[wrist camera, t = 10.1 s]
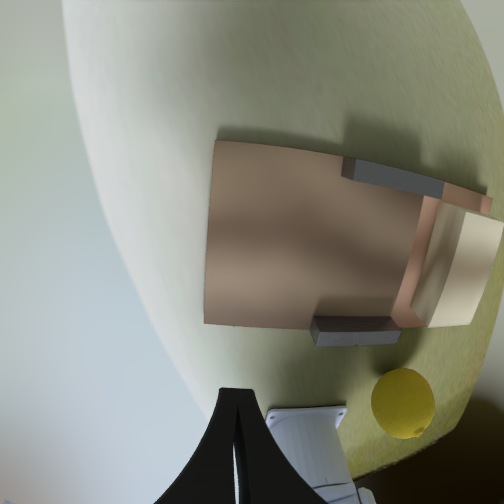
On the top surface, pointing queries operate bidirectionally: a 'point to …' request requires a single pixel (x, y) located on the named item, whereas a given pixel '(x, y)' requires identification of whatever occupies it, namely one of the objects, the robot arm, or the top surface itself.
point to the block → (456, 266)
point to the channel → (371, 327)
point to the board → (312, 239)
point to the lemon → (403, 403)
